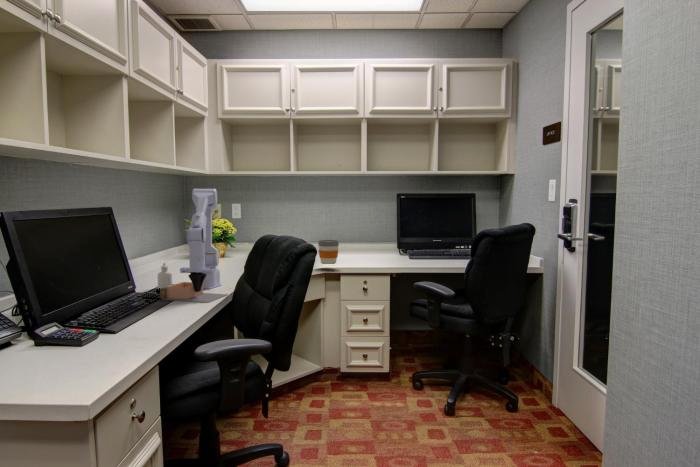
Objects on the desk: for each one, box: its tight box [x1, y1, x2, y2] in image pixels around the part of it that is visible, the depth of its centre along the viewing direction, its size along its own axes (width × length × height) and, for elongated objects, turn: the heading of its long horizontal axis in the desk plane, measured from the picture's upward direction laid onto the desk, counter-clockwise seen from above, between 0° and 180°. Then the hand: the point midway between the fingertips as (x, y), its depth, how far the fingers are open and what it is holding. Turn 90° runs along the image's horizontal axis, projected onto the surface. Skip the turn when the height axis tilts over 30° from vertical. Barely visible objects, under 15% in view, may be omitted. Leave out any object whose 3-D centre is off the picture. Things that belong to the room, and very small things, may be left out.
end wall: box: [159, 287, 167, 300], centre depth 165 cm, size 13×2×4 cm, turn 166°
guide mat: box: [163, 292, 229, 304], centre depth 163 cm, size 14×24×1 cm, turn 76°
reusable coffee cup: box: [317, 239, 339, 264], centre depth 248 cm, size 12×12×15 cm
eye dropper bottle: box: [157, 262, 173, 290], centre depth 174 cm, size 4×6×12 cm
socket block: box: [167, 281, 204, 299], centre depth 163 cm, size 10×9×4 cm
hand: (198, 291), depth 162 cm, fingers closed
